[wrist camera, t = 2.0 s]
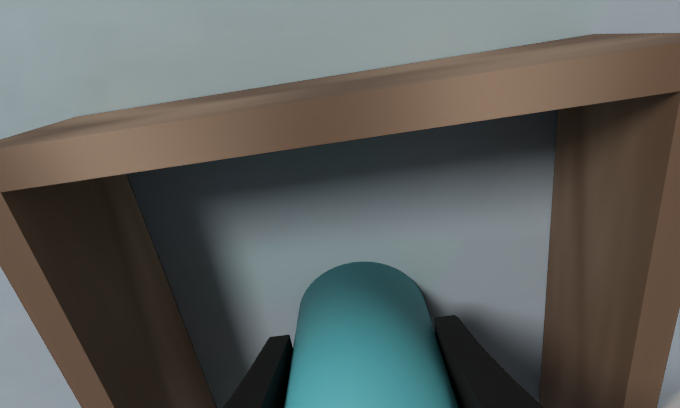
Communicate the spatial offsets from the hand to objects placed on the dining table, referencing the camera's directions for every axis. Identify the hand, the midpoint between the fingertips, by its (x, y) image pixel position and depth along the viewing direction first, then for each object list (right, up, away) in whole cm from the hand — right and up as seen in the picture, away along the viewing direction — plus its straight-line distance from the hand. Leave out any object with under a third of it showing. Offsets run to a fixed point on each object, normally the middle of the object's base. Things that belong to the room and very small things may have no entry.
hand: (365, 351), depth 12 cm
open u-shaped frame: (0, +2, +1) cm, 2 cm away
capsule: (0, +1, +2) cm, 2 cm away
